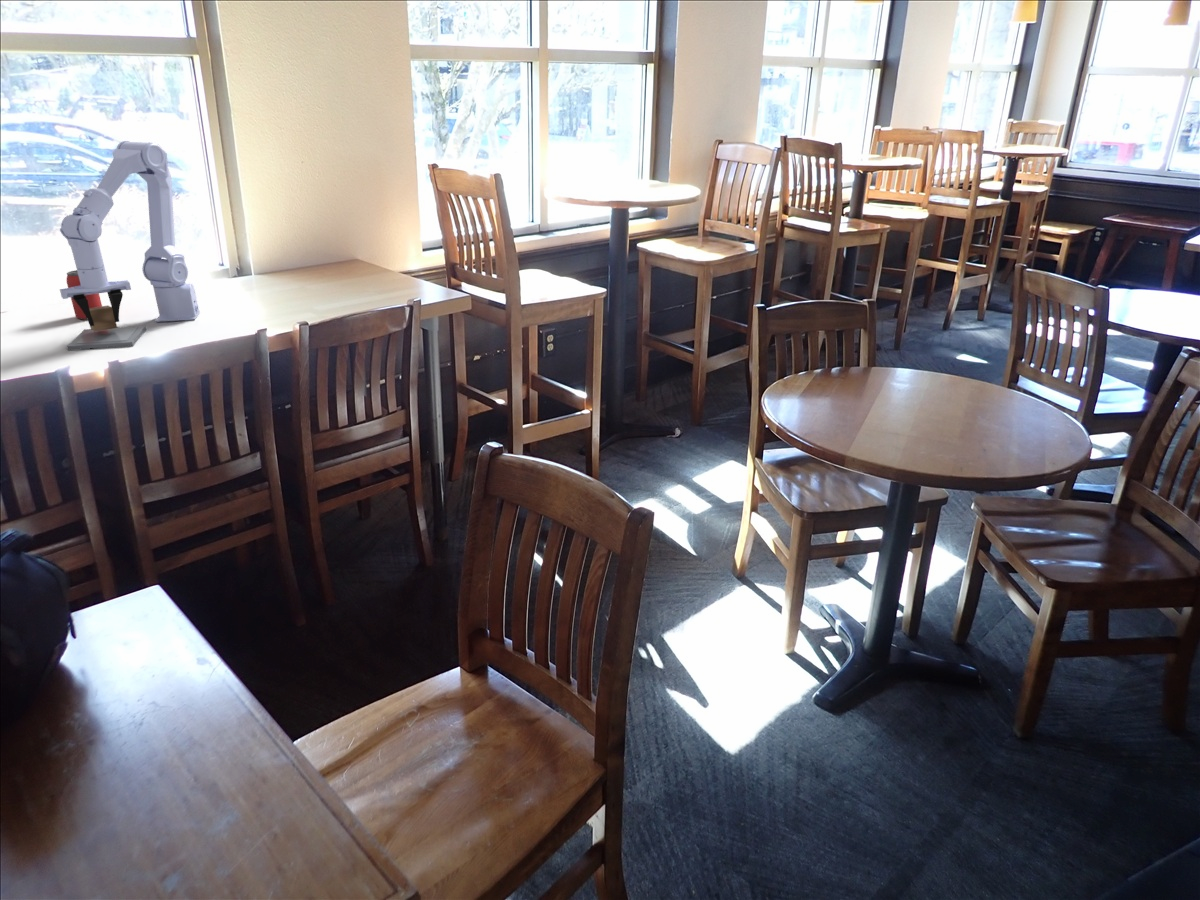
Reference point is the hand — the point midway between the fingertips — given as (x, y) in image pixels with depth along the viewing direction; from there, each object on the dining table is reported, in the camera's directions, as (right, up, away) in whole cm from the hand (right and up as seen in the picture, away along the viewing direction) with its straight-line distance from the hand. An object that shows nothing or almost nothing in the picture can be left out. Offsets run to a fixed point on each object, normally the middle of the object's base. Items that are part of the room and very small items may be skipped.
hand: (104, 322), depth 203 cm
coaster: (0, -4, +2) cm, 4 cm away
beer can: (-15, +4, +20) cm, 25 cm away
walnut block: (-2, -1, +3) cm, 3 cm away
